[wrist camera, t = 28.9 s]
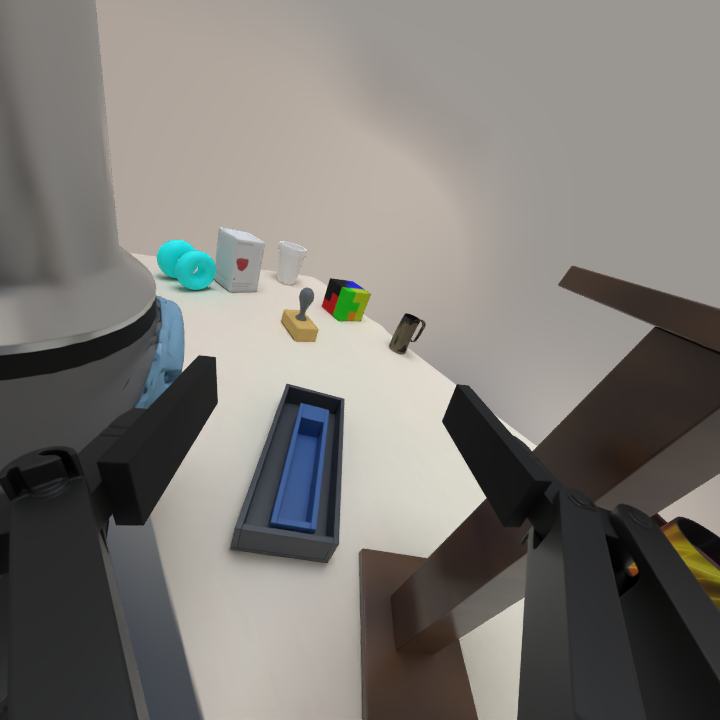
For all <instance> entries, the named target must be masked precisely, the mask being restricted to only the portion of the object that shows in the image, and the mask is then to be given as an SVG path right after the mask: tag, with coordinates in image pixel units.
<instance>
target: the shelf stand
mask: <svg viewBox="0 0 720 720" xmlns="http://www.w3.org/2000/svg"><path fill="white" fill-rule="evenodd" d="M558 285H559V286H560V287H562V288H565V289H567V290H570V291H572V292H574V293H577V294H579V295H582V296H584V297H586V298H589V299H591V300H594V301H596V302H598V303H601V304H603V305H606V306H608V307H610V308H613V309H615V310H618V311H620V312H623V313H625V314H627V315H630V316H632V317H634V318H637V319H639V320H642V321H644V322H646V323H649V324H651V325H654V326H656V327H654V328H653V329H652V330H651V331H650V332H649V333H648V334H647V335H646V336H645V337H644V338H643V339H642V340H641V341H640V342H639V344H638V345H636V346H635V348H634V349H633V350H632V351H631V352H630V353H629V354H628V355H627V356H626V357H625V358H624V359H623V360H622V361H621V362H620V363H619V364H618V365H617V366H616V367H615V368H614V369H613V370H612V371H611V372H610V373H609V374H608V375H607V376H606V377H605V378H604V379H603V380H602V381H601V382H600V383H599V384H598V385H597V386H596V387H595V388H594V389H593V390H592V391H591V392H590V393H589V394H588V395H587V397H585V399H583V400H582V402H580V404H579V405H578V406H577V407H576V408H575V409H574V410H573V411H572V412H571V413H570V414H569V415H568V416H567V417H566V418H565V419H564V420H563V421H562V422H561V423H560V424H559V425H558V426H557V427H556V428H555V429H554V430H553V431H552V432H551V433H550V434H549V435H548V436H547V437H546V438H545V439H544V440H543V441H542V442H541V443H540V444H539V445H538V446H537V447H536V448H535V449H534V450H533V451H532V452H533V454H535V455H536V456H537V457H538V459H539V461H541V462H542V463H543V464H544V465H545V466H546V467H547V468H548V470H549V471H550V472H551V473H552V474H553V475H554V476H555V477H556V478H557V480H558V481H559V482H560V483H561V484H562V485H563V486H566V487H571V488H573V489H576V490H578V491H580V492H581V493H583V494H585V495H586V496H587V497H588V498H590V499H591V500H592V501H593V502H594V503H595V505H596V506H597V507H600V508H603V509H606V510H610V511H613V510H614V508H615V507H616V506H617V505H618V504H627V505H630V506H632V507H634V508H637V509H639V510H641V511H642V512H644V513H645V514H647V515H648V516H649V517H652V516H653V515H655V514H656V513H658V512H659V511H661V510H663V509H664V508H666V507H667V506H669V505H670V504H672V503H674V502H675V501H677V500H678V499H680V498H681V497H683V496H685V495H686V494H688V493H689V492H691V491H692V490H694V489H695V488H697V487H699V486H700V485H702V484H704V483H705V482H707V481H708V480H710V479H711V478H713V477H715V476H716V475H718V474H719V473H720V309H719V308H716V307H712V306H709V305H706V304H702V303H699V302H695V301H692V300H689V299H685V298H682V297H678V296H675V295H671V294H668V293H665V292H661V291H657V290H654V289H651V288H647V287H644V286H641V285H637V284H634V283H631V282H627V281H624V280H620V279H617V278H614V277H610V276H607V275H603V274H600V273H596V272H593V271H590V270H586V269H583V268H579V267H576V266H571V268H570V269H569V270H568V272H567V273H566V274H565V276H564V277H563V279H562V280H561V281H560V283H559V284H558ZM531 527H532V524H531V522H530V521H529V520H528V518H526V520H525V521H524V523H523V524H522V526H521V527H503V525H502V523H501V521H500V520H499V518H498V516H497V515H496V513H495V511H494V510H493V508H492V506H491V504H490V503H489V501H488V499H487V498H486V499H485V500H484V501H483V502H482V503H481V504H480V505H479V506H478V507H477V508H476V509H475V510H474V512H473V513H472V514H471V515H470V516H469V517H468V518H467V519H466V520H465V521H464V522H463V523H462V524H461V525H460V526H459V527H458V528H457V529H456V530H455V531H454V532H453V533H452V534H451V535H450V536H449V537H448V538H447V539H446V540H445V541H444V542H443V543H442V544H441V545H440V546H439V547H438V548H437V549H436V550H435V551H434V552H433V553H432V554H431V555H430V556H429V557H428V558H421V557H415V556H408V555H402V554H395V553H389V552H382V551H376V550H369V549H361V551H360V552H359V556H360V604H361V653H362V701H363V720H478V717H477V712H476V708H475V704H474V700H473V696H472V692H471V688H470V684H469V680H468V675H467V671H466V667H465V663H464V659H463V655H462V651H461V647H460V643H459V638H461V637H462V636H464V635H465V634H467V633H469V632H470V631H472V630H473V629H475V628H477V627H478V626H480V625H481V624H483V623H484V622H486V621H488V620H489V619H491V618H492V617H494V616H495V615H497V614H499V613H500V612H502V611H503V610H505V609H506V608H508V607H510V606H511V605H513V604H514V603H516V602H518V601H519V600H521V599H522V598H524V597H525V585H526V568H527V552H528V541H527V542H525V544H524V545H522V544H520V543H521V541H522V539H523V538H524V536H525V535H526V534H527V532H528V531H529V530H530V528H531Z"/></svg>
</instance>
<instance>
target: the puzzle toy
mask: <svg viewBox="0 0 720 720" xmlns="http://www.w3.org/2000/svg"><path fill="white" fill-rule="evenodd" d="M370 295H371V294H370V293H369V292H368V291H366V290H365V289H363V288H362V287H360V286H359V285H357V284H356V283H354V282H353V281H346V280H339V279H330V281H329V284H328V287H327V291H326V294H325V297H324V301H323V304H322V307H323V308H324V309H325V310H326V311H328V312H329V313H330V314H331V315H332V316H333V317H335V318H336V319H337V320H338V321H361V319H362V316H363V314H364V311H365V308H366V306H367V303H368V301H369V298H370Z"/></svg>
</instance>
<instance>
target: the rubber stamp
mask: <svg viewBox="0 0 720 720" xmlns="http://www.w3.org/2000/svg"><path fill="white" fill-rule="evenodd" d="M299 299H300V311H298V310H284V312H283V316H282V320H281V321H282V322H283V324H284V325H285V327H286V328H287V329H288V331H289V332H290V334H291V335H292V336H293V338H294V339H295V340H296V341H315V339H316V336H317V333H318V330H319V329H318V328H317V326H316V325H315V324H314V323H313V322H312V321H311V320H310V318H309V317H308V316H307V315H306V314H305V312H306V310H307V308H308V307H309V306H310V304H311V303H312V301H313V299H314V293H313V291H312V289H310V288H304V289H303V290H302V291H301V292H300V296H299Z"/></svg>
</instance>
